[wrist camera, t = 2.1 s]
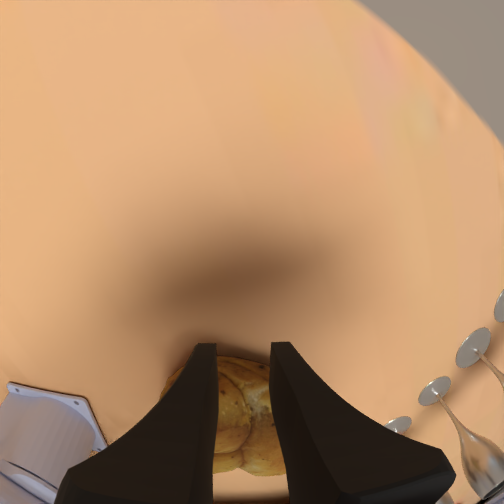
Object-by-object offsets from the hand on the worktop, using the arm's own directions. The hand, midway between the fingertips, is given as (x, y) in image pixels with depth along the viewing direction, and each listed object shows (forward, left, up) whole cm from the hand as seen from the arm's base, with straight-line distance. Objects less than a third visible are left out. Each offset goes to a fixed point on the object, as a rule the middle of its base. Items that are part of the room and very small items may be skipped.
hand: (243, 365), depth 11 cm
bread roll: (0, -11, -10) cm, 15 cm away
